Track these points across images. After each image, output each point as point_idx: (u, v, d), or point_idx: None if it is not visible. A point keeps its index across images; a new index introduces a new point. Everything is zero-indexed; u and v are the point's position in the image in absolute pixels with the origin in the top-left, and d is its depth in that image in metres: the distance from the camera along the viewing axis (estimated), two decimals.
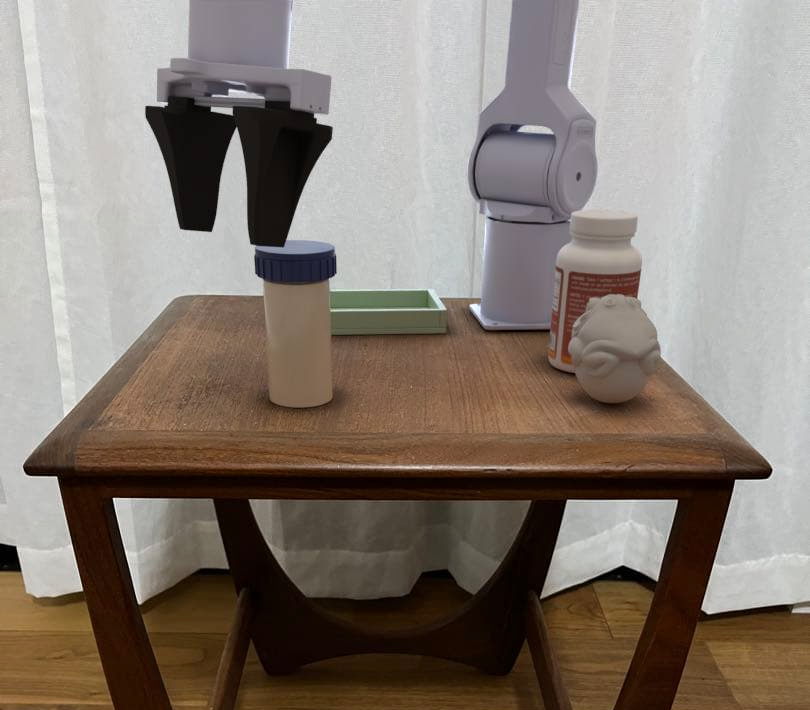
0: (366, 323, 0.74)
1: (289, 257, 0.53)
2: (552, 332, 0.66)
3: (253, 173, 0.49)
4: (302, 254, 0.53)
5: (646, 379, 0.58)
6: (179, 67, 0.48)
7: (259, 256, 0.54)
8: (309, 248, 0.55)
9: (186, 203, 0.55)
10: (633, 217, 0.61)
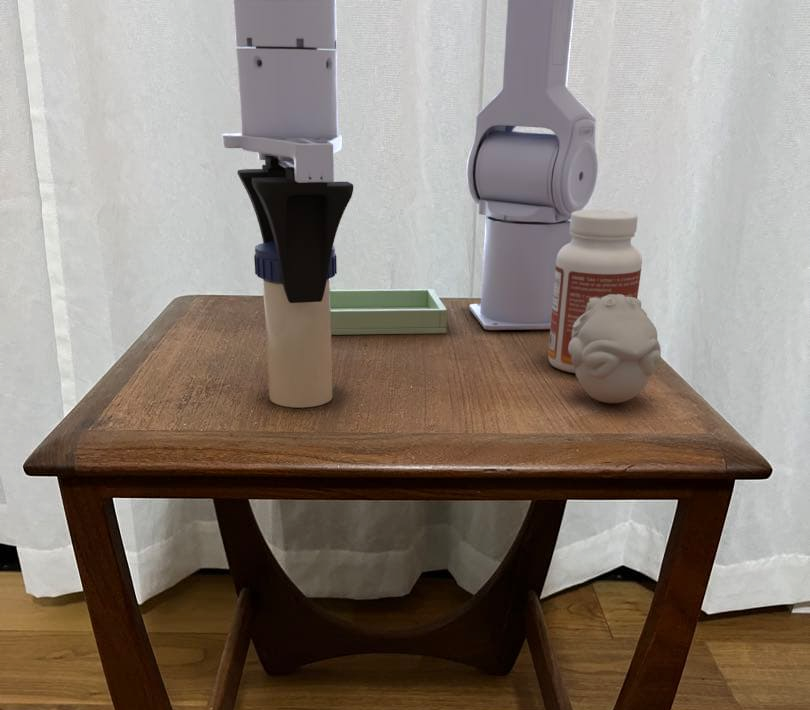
0: (366, 323, 0.74)
1: None
2: (552, 332, 0.66)
3: (275, 238, 0.51)
4: None
5: (646, 379, 0.58)
6: (223, 143, 0.51)
7: (259, 256, 0.54)
8: None
9: None
10: (633, 217, 0.61)
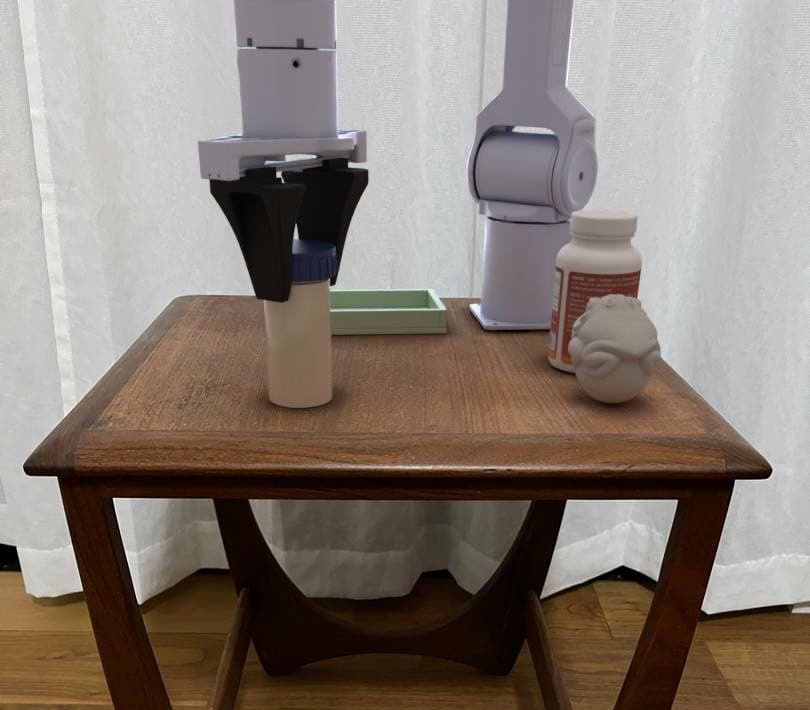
0: (366, 323, 0.74)
1: None
2: (552, 332, 0.66)
3: (346, 224, 0.56)
4: (317, 241, 0.57)
5: (646, 379, 0.58)
6: (349, 146, 0.51)
7: (334, 253, 0.55)
8: None
9: None
10: (633, 217, 0.61)
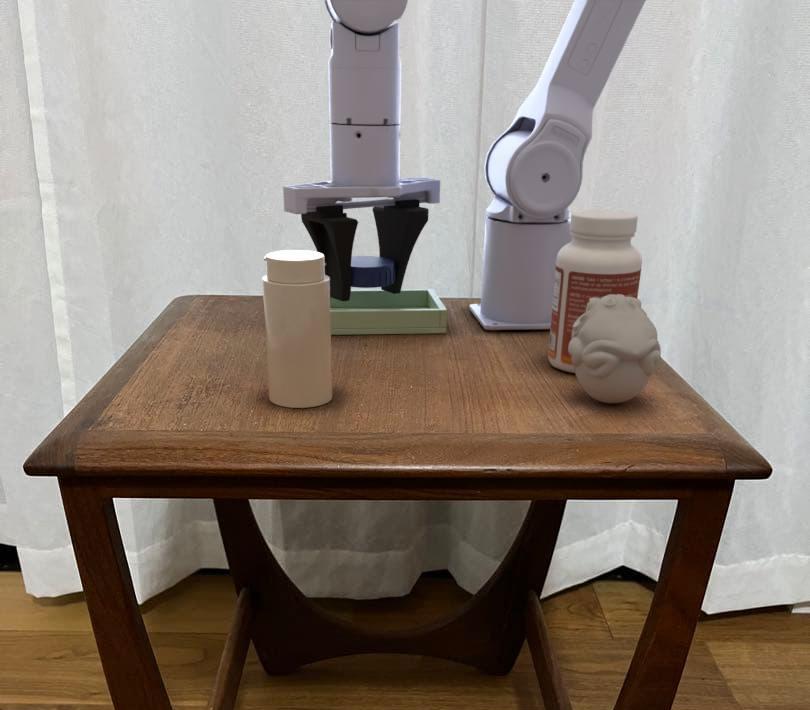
0: (366, 323, 0.74)
1: None
2: (552, 332, 0.66)
3: (408, 249, 0.76)
4: (388, 259, 0.77)
5: (646, 379, 0.58)
6: (395, 193, 0.70)
7: (388, 269, 0.74)
8: (367, 259, 0.76)
9: None
10: (633, 217, 0.61)
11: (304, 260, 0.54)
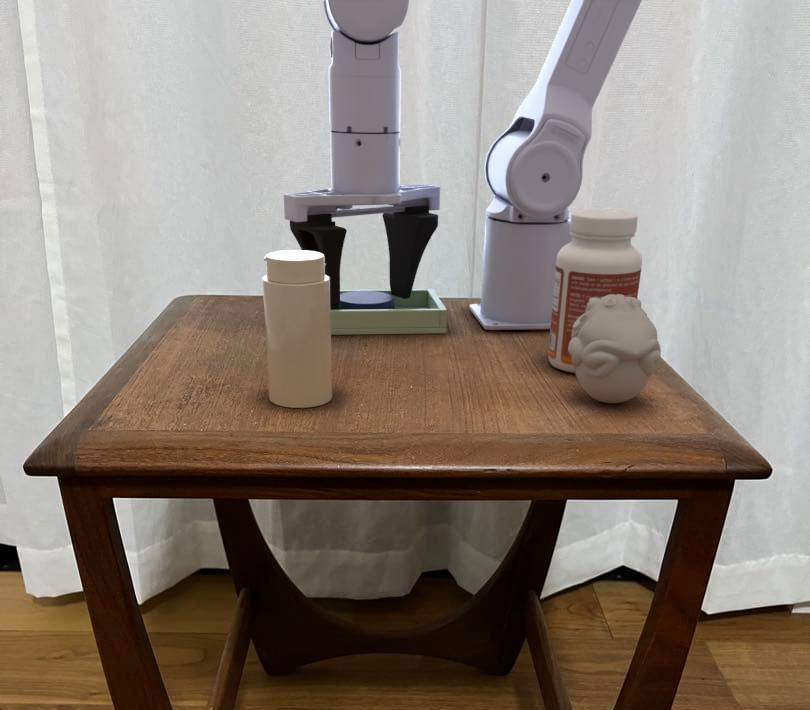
0: (366, 323, 0.74)
1: None
2: (552, 332, 0.66)
3: (418, 254, 0.76)
4: (387, 294, 0.78)
5: (646, 379, 0.58)
6: (395, 201, 0.70)
7: (387, 305, 0.76)
8: (367, 294, 0.78)
9: None
10: (633, 217, 0.61)
11: (304, 260, 0.54)
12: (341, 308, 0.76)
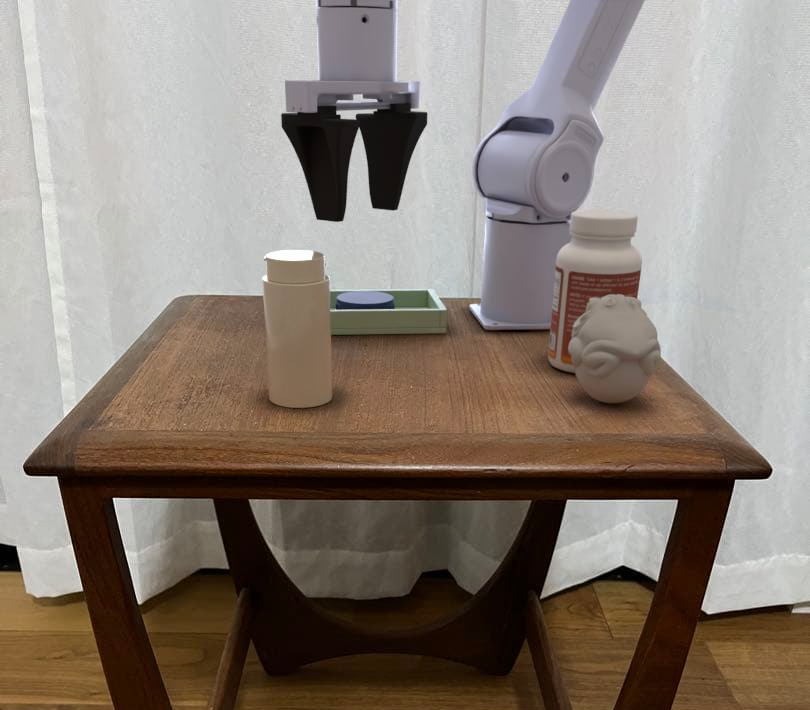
0: (366, 323, 0.74)
1: None
2: (552, 332, 0.66)
3: (408, 158, 0.69)
4: (387, 294, 0.78)
5: (646, 379, 0.58)
6: (406, 89, 0.62)
7: (387, 305, 0.76)
8: (367, 294, 0.78)
9: None
10: (633, 217, 0.61)
11: (304, 260, 0.54)
12: (341, 308, 0.76)
